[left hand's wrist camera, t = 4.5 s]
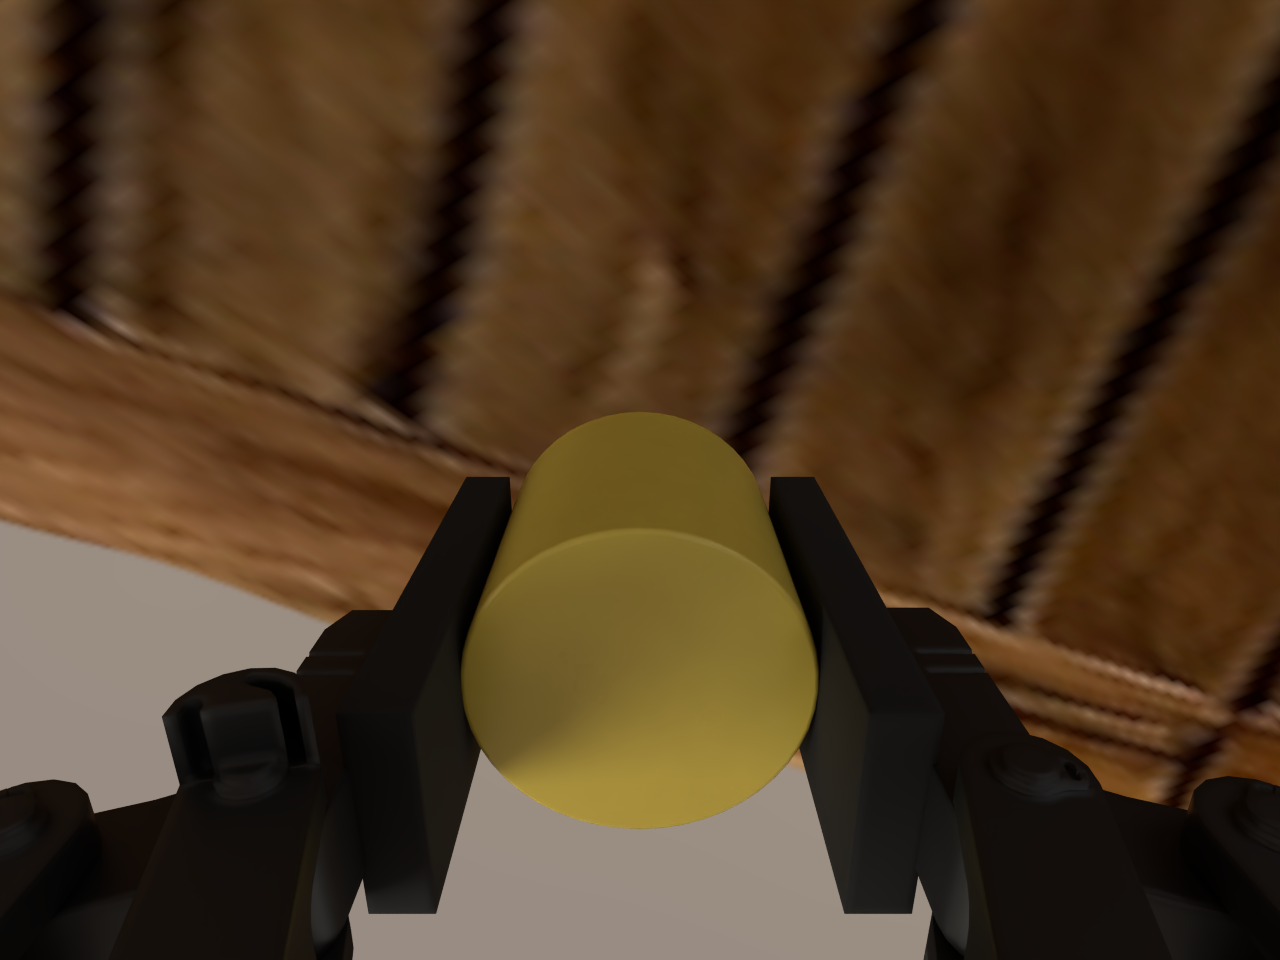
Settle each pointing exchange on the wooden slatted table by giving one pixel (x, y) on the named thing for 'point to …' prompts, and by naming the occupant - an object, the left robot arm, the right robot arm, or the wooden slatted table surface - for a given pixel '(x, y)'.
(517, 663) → the canister
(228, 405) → the wooden slatted table surface
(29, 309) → the wooden slatted table surface
